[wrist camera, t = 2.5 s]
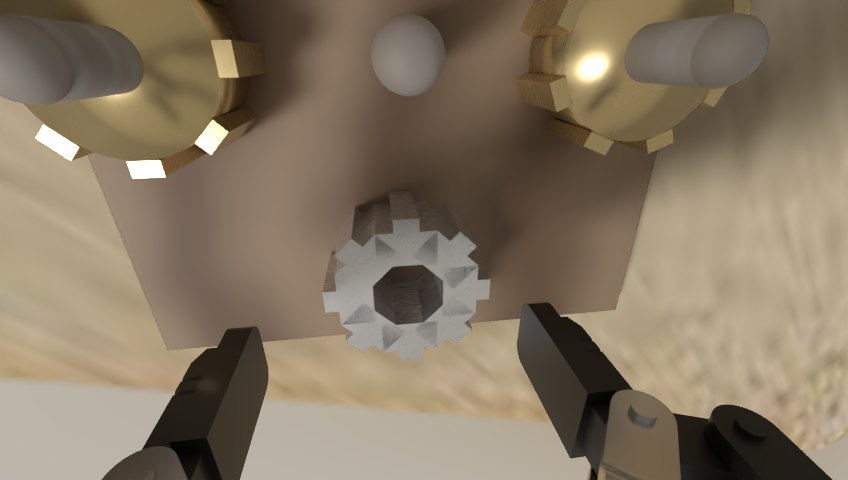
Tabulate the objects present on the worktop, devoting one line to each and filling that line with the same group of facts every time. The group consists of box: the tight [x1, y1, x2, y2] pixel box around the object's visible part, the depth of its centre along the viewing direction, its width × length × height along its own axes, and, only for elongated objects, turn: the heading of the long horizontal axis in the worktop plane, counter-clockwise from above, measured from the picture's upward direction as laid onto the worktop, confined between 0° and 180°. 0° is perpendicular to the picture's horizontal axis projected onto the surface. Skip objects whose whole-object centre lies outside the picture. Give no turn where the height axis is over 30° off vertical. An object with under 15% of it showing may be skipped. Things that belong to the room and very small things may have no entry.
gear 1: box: [0, 0, 266, 178], centre depth 10 cm, size 6×6×5 cm
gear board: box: [0, 0, 769, 350], centre depth 12 cm, size 22×16×7 cm
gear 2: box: [516, 0, 751, 155], centre depth 13 cm, size 6×6×3 cm
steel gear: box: [322, 190, 490, 360], centre depth 15 cm, size 6×6×3 cm
